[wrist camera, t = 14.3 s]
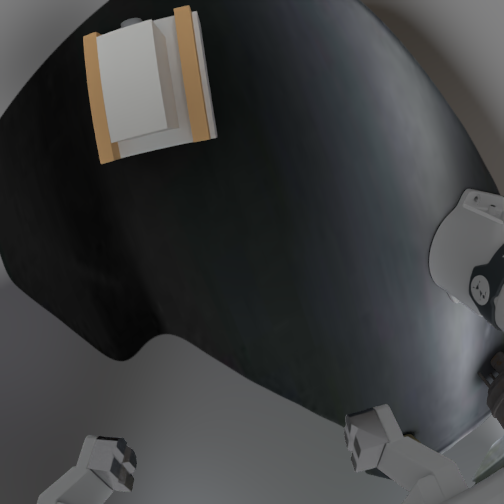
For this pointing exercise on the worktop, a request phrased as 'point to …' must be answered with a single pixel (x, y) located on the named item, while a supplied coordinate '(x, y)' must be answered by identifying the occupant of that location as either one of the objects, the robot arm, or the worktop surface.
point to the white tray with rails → (184, 87)
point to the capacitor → (496, 388)
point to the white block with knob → (136, 81)
